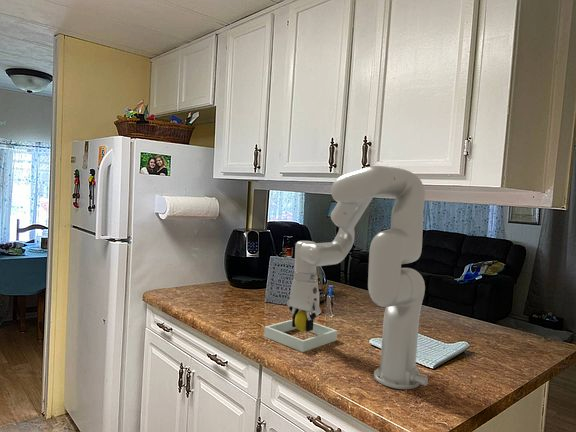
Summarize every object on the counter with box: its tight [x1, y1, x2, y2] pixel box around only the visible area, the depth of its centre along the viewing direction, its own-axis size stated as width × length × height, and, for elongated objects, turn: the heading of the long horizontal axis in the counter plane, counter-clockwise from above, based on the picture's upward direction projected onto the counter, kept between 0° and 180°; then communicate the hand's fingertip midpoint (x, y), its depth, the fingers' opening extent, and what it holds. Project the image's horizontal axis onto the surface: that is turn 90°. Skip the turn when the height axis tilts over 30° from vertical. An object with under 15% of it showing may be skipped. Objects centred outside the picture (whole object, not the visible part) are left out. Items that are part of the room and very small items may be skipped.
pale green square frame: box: [263, 319, 338, 353], centre depth 149 cm, size 18×18×4 cm
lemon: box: [295, 310, 308, 333], centre depth 148 cm, size 6×6×8 cm
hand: (302, 327), depth 148 cm, fingers closed on lemon, 5 cm apart
